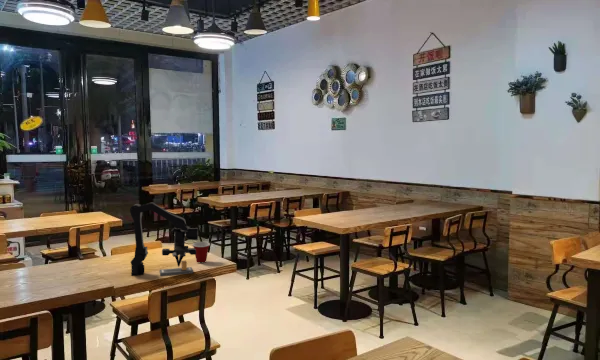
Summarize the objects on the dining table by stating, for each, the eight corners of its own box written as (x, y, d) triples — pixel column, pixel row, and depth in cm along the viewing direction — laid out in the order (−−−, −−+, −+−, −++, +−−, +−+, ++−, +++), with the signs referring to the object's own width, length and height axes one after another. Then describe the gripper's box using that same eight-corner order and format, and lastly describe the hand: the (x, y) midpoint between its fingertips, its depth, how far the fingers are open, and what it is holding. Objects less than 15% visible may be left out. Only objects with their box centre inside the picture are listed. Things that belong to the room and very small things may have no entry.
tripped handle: (182, 270, 254) (182, 262, 254) (181, 268, 258) (181, 260, 257) (186, 269, 255) (186, 261, 254) (185, 267, 258) (185, 260, 258)
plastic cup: (194, 265, 272) (193, 245, 272) (191, 261, 282) (191, 242, 282) (211, 263, 276) (211, 244, 276) (208, 259, 286) (208, 241, 286)
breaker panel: (160, 275, 248) (160, 273, 248) (159, 272, 255) (159, 269, 255) (193, 273, 254) (193, 270, 254) (191, 269, 262) (191, 266, 262)
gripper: (163, 242, 243) (162, 270, 244) (198, 242, 250) (196, 269, 251) (162, 238, 254) (161, 265, 255) (195, 238, 260) (194, 264, 261)
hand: (178, 266), depth 255 cm, fingers closed
